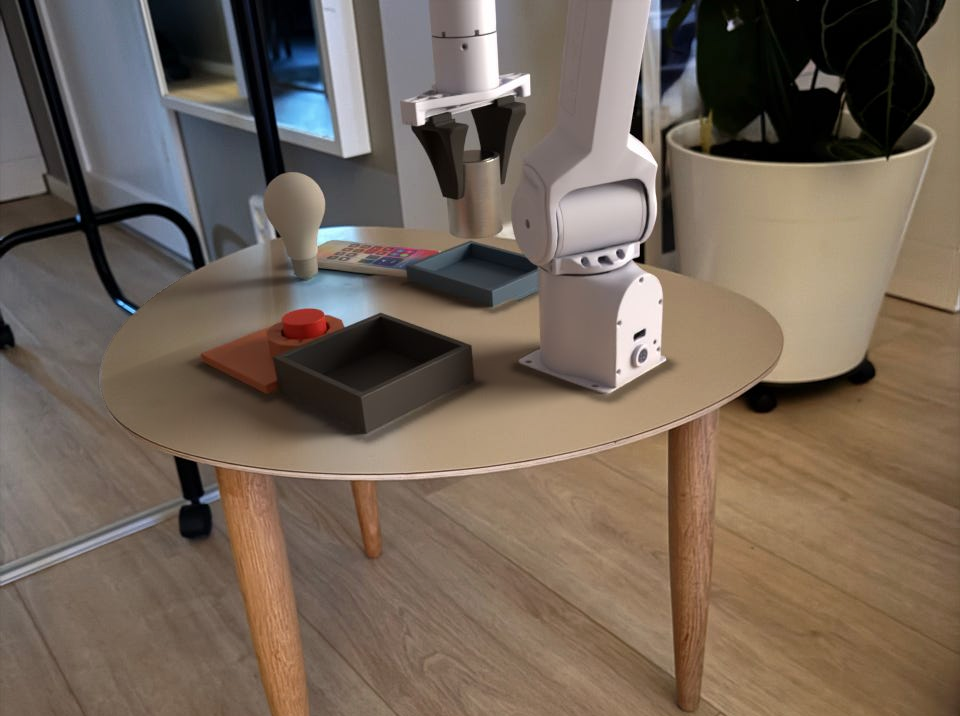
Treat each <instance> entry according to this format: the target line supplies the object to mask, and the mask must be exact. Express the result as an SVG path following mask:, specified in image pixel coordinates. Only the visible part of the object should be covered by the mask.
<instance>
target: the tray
mask: <svg viewBox="0 0 960 716" xmlns="http://www.w3.org/2000/svg"><path fill="white" fill-rule="evenodd" d="M406 271H407V281H409V282H413V283H416V284H420V285H422V286H426V287H429V288H432V289H435V290H437V291H441V292H445V293H447V294H451V295H454V296H457V297H460V298H462V299H465V300H469V301H472V302H476V303H478V304H482V305H485V306H488V307H492V308H494V307H496V306H499V305H501V304H503V303H505V302H507V301H508V302H509V301H510V300H515V301H519V300H521V299H524V298H526V297H528V296H530V295H532V294H535V293H538V266H537V265H534V264H533V263H532V262H530V261H529V260H528V258H527V257H525V256H524V254H523V253H519V252H516V251H512V250H508V249H505V248H500V247H497V246H493V245H489V244H485V243H481V242H477V241H474V240H469V241H466V242H464V243H460V244H458V245H456V246H453V247H450V248H447V249H444V250H442V251H440V252H439V253H437V254H434V255H432V256H429V257H426V258H424V259H421V260H419V261H416V262H413V263H411V264H408V265H406Z"/></svg>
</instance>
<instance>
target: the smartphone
mask: <svg viewBox="0 0 960 716" xmlns="http://www.w3.org/2000/svg"><path fill="white" fill-rule="evenodd" d="M317 247H318V253H317V255H316V257H317V266H318V269H324V270H325V269H326V270H327V269H328V270H335V271H341V272H351V273H357V274H358V273H359V274H360V273H361V274H368V275H379V276H381V275H383V276H389V277H396V278H397V277H398V278H407V271H406V265H408V264H411V263H413V262H416V261H419V260H421V259H424V258H426V257H429V256H432V255H434V254H437V253H439V252H441V251H440V250H436V249H427V248H416V247H408V246H398V245H390V244H388V245H387V244H381V243H380V244H378V243H370V242H361V241H350V240H349V241H348V240H340V239H332V240H327V241H325V242H323V243H322V244H320V245H317Z"/></svg>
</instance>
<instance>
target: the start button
mask: <svg viewBox="0 0 960 716" xmlns="http://www.w3.org/2000/svg"><path fill="white" fill-rule="evenodd" d="M325 315H326V314H325V312H324V311H323V310H321V309H318V308H313V307H311V308H310V307H309V308H308V307H307V308H306V307H305V308H300V309H295V310H292V311H289V312H287V313H285V314H284V315H283V316H282V317H281V321H282V325H283V330H284V335H285V338H288V339H295V340H304V339H310V338H315V337H318V336H320V335H322V334H325V333H326V332H327V327H326V321H325Z"/></svg>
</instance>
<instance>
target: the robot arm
mask: <svg viewBox="0 0 960 716" xmlns="http://www.w3.org/2000/svg"><path fill="white" fill-rule="evenodd" d="M651 4H652V0H568V3H567V13H566V24H565V33H564V41H563V49H562V51H563V52H562V60H561V70H560V80H559V89H558V98H557V99H558V100H557V108H556V118H555V125H554V126H553V128H552V129H551V130H550V131H549V132H548V133H547V134H546V135H545V136H544V137H543V138H542V139H541V140H540V141H539V142H537V143H536V144H535V145H534V146H533V147H532V148H531V149H530V150H529V151H528V152H527V153H526V154H525V155H524V157H523V158H522V166H521V173H520V178H519V183H518V185H517V187H516V189H515V191H514V194H513V197H512V200H511V205H510V209H511V210H510V218H511V219H510V220H511V226H512V227H511V228H512V232H513V235H514V238H515V241H516V244H517V246H518V248H519V251H520V252H521V254H524V256H525V257H527V258H528V260H529V261H530V262H532V263H533V264H534V265H537V266H538V291H537V295H538V319H539V321H538V322H539V323H538V324H539V348H538V349H537V350H535V351H532V352H530V353H529V354H527V355H525V356H523V357H521V358H519V359H518V364H520V365H522V366H525V367H528V368H531V369H533V370H536V371H538V372H541V373H543V374H544V373H545V374H547V375H550V376H552V377H555V378H558V379H561V380H564V381H566V382H569V383H572V384H574V385H576V386H580V387H583V388H585V389H589V390H591V391H593V392H597V393H599V394H602V395H607V394H611V393H613V392H614V391H616V390H618V389H620V388H621V387H624V386H625V385H627V384H628V383H630V382H632V381H633V380H635V379H637V378H639V377H640V376H642V375H644V374H646V373H647V372H649V371H650V370H653V369H654V368H656V367H658V366H660V365H662V363H664V362H666V361H667V357H666V356H664V355H662V337H663V335H662V333H663V309H664V293H663V288H662V287H663V286H662V285H661V282H660V280H659V279H658V277H657V276H656V275H654V274H652V273H650V272H648V271H646V270H644V269H642V268H641V267H639V265H637V264H636V262H635V261H634V260H633V259H637V258H639V257H640V247H641V246H640V245H641V244H644V243H645V242H646V241H647V240H649V238H650V236H651V234H652V232H653V230H654V227H655V224H656V221H657V220H656V219H657V215H658V202H657V194H656V179H657V178H656V177H657V171H658V167H659V165H658V163H657V161H656V159H655V158H654V156H653V154H652V153H651V151H650V150H649V149H648V147H647V146H646V145H645V144H644V143H642V141H640V140H639V139H638V138H636V137H635V136H634V135H632V134H631V133H630V132H631V127H632V119H633V113H634V107H635V101H636V95H637V91H638V83H639V77H640V71H641V65H642V59H643V53H644V48H645V40H646V36H647V35H646V34H647V28H648V22H649V18H650V17H649V16H650V10H651ZM428 11H429V20H430V32H431V33H430V35H431V44H432V45H431V46H432V56H433V58H432V59H433V69H434V82H435V83H434V84H431V89H429V90H426V91H424V92H421V93H419V94H417V95H414V96H413V97H410V98H406V99H402V100H400V101H399V104H400V115H401V123H402V125H406V126H410V128H411V131H412V133H413V134H414V135H415V137H416V138H417V140H418V142H419V143H420V145H421V146H422V148H423V150H424V151H425V154H426V155H427V157H428V159H429V161H430V164H431V166H432V168H433V172H434V175H435V177H436V180H437V183H438V186H439V189H440V192H441V195H442V198H446V199H447V198H450V199H455V200H458V199H461V198H462V197H463V188H464V186H463V153H464V151H465V146H466V145H465V144H466V139H467V135H468V131H469V128H470V125H468V124H467V123H463V122H456V118H453V115H456V114H459V113H463V112H466V111H470V113H471V116H472V118H473V121H474V125H475V129H476V132H477V137H478V141H479V147H480V150H491V151H495V152H497V153H498V154H499V163H500V182H501V185H504V184H506V183H505V182H506V178H507V174H508V173H507V172H508V168H509V163H510V157H511V154H512V149H513V146H514V142H515V139H516V137H517V134H518V132H519V129H520V126H521V124H522V122H523V121H524V119H525V117H526V115H527V105H526V103H525V102H522V101H521V102H520V101H516V100H515V99H516V98H526V97H530V96H531V73H524V72H523V73H522V72H510V73H507V74H501V75H500V72H499V71H500V70H499V55H498V53H499V51H498V50H499V49H498V31H497V12H496V0H428Z"/></svg>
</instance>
